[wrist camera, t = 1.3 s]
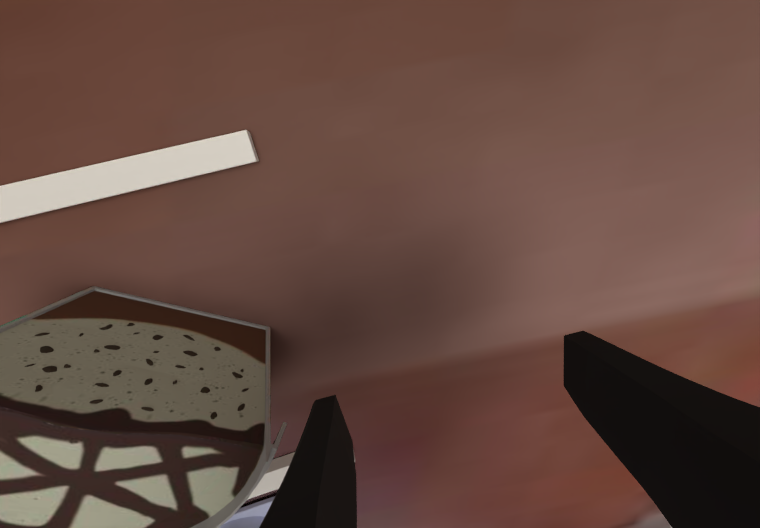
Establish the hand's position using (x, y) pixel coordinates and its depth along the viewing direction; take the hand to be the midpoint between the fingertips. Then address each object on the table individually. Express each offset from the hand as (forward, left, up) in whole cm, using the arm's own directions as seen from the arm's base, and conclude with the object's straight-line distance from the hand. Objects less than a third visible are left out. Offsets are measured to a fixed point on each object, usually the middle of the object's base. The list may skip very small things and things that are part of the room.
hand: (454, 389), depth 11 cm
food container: (-1, +13, -12) cm, 17 cm away
